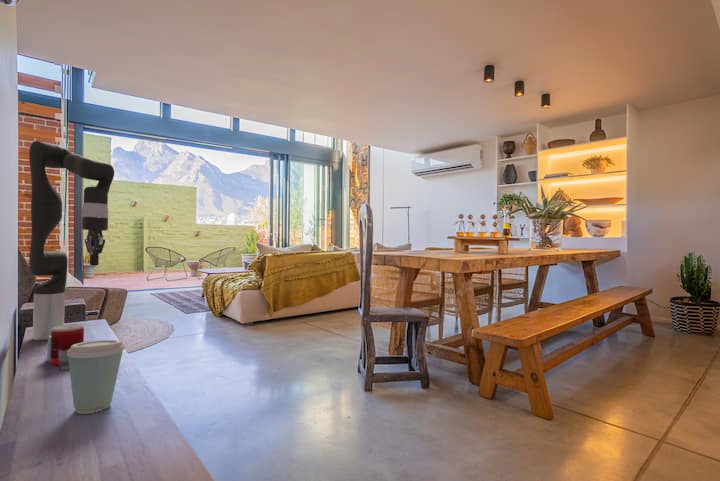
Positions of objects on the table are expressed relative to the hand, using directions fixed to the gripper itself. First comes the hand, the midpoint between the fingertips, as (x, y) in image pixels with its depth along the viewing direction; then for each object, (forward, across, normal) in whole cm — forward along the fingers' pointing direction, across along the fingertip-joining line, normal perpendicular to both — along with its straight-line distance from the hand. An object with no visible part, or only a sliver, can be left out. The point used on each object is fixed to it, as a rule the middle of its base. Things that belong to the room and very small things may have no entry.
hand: (94, 265), depth 132 cm
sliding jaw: (+29, +5, -10) cm, 31 cm away
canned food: (+29, +14, -11) cm, 34 cm away
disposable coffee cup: (+29, +57, -17) cm, 66 cm away
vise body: (+29, +20, -10) cm, 36 cm away
